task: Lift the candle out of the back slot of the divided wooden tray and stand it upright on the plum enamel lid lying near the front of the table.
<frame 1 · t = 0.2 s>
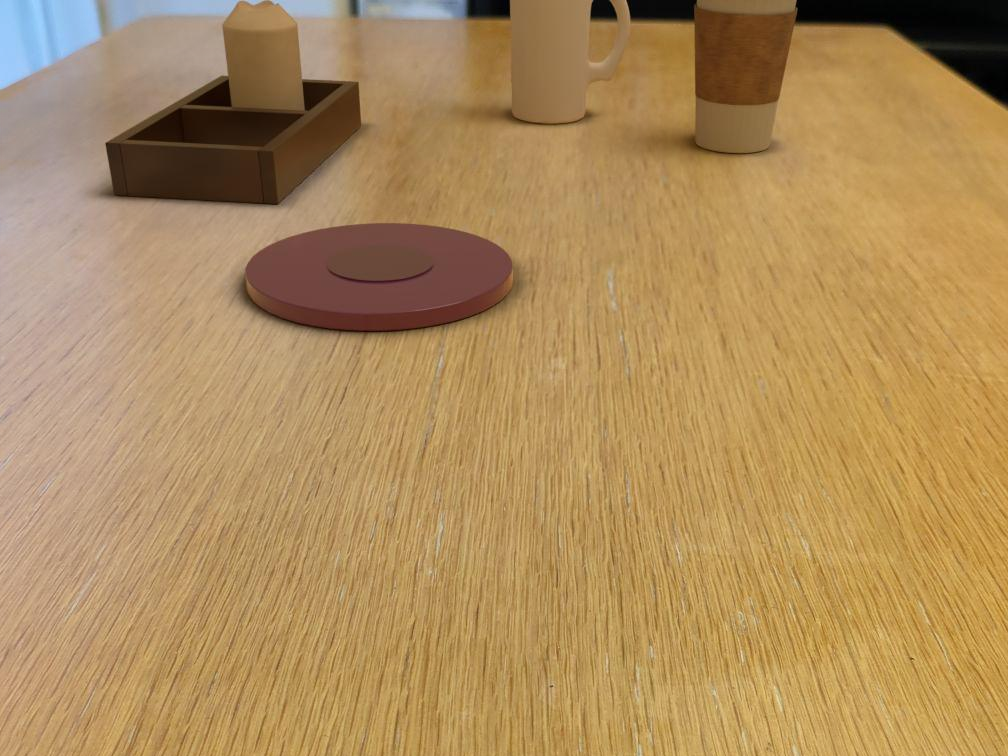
mug: (567, 117, 104), on the table
candle: (271, 142, 95), resting in divided wooden tray
divided wooden tray: (249, 157, 91), on the table
coffee cup: (732, 146, 96), on the table
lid: (381, 280, 69), on the table
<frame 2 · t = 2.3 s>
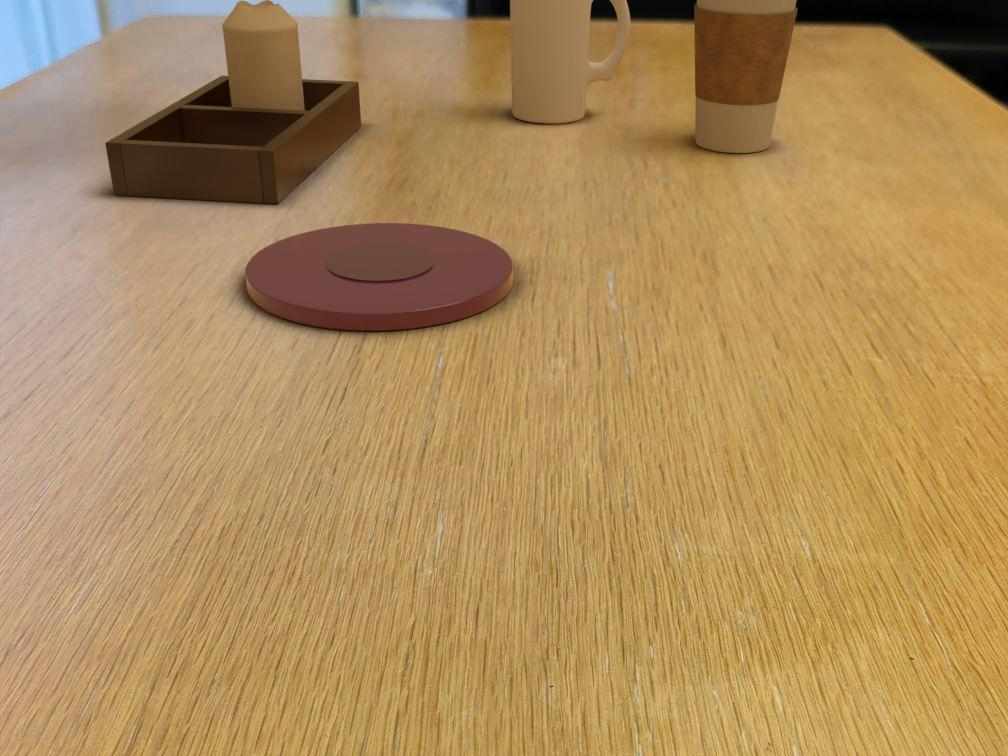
nothing on the table moved.
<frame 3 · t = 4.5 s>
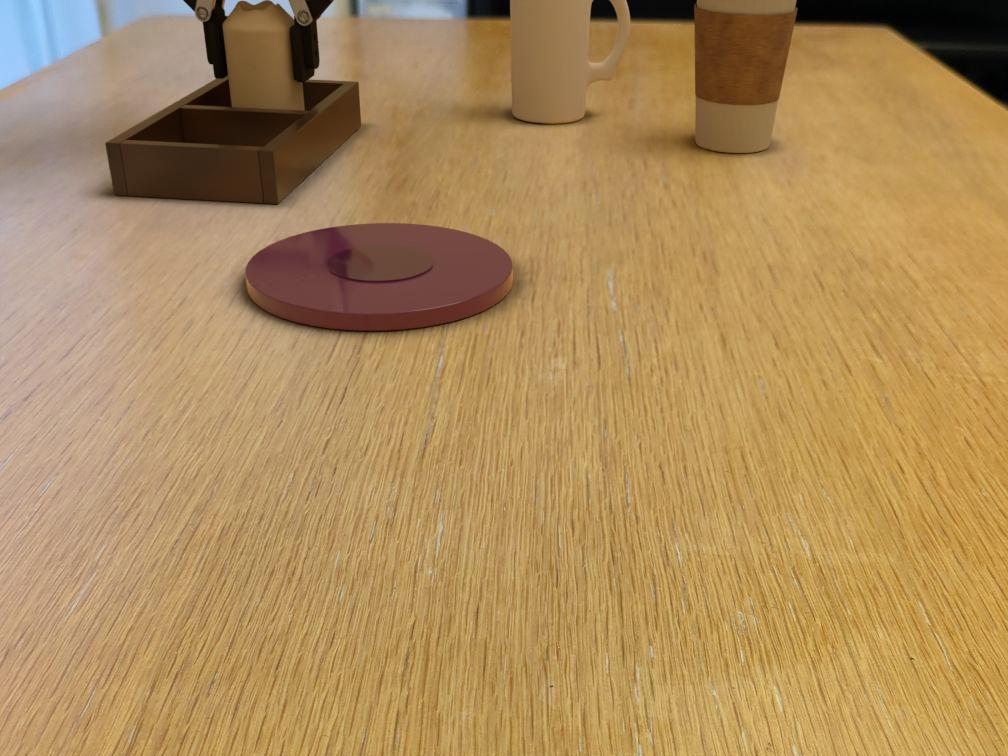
hand: (265, 74, 92), 5 cm above the table, tool pointing down, fingers closed on candle, 5 cm apart
candle: (271, 142, 95), resting in divided wooden tray, touching gripper
everything else where it was.
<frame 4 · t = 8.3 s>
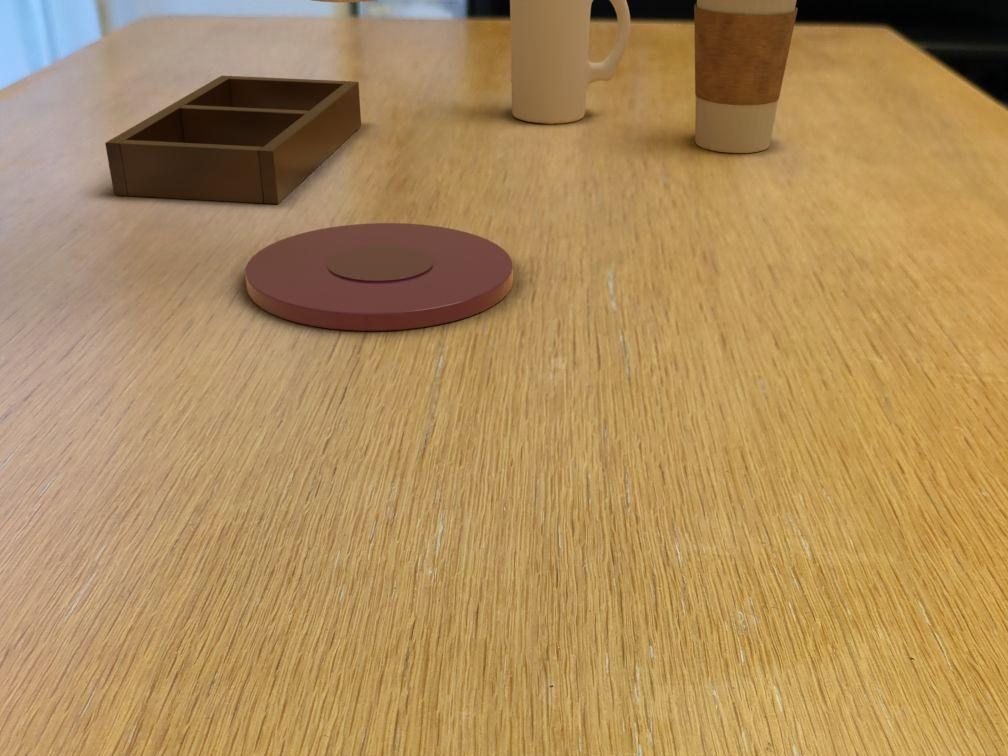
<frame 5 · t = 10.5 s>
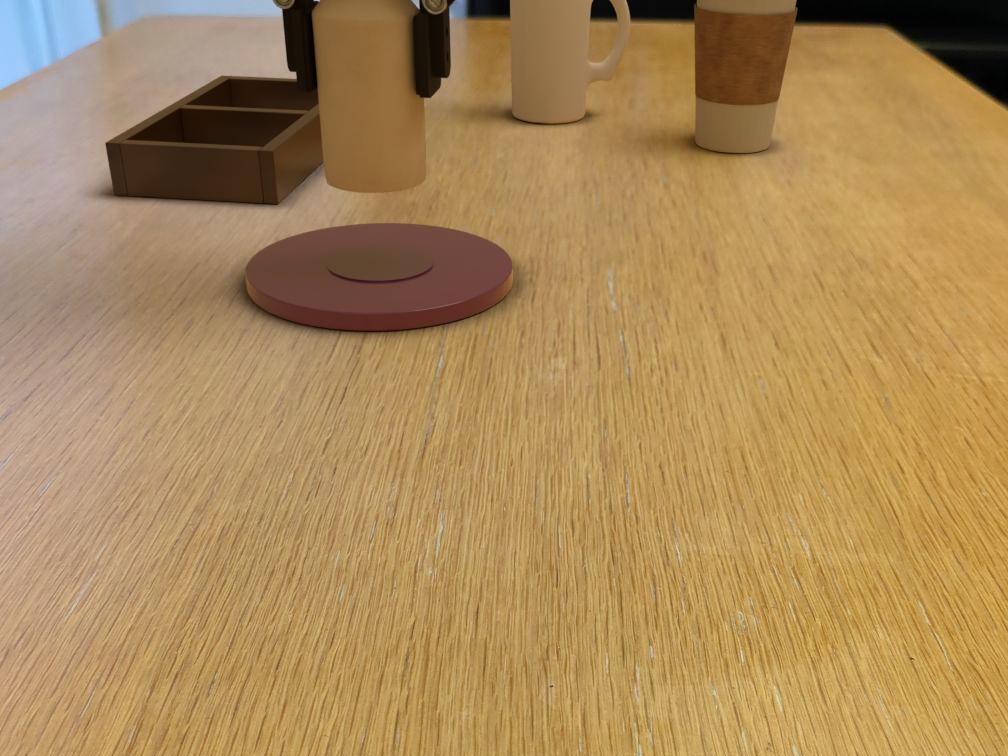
hand: (370, 86, 63), 11 cm above the table, tool pointing down, fingers closed on candle, 5 cm apart
candle: (376, 183, 66), point 6 cm above the table, touching gripper
everything else where it was.
when the fingers open (6 cm above the table, at t = 12.1 s): candle stays where it is, resting on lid.
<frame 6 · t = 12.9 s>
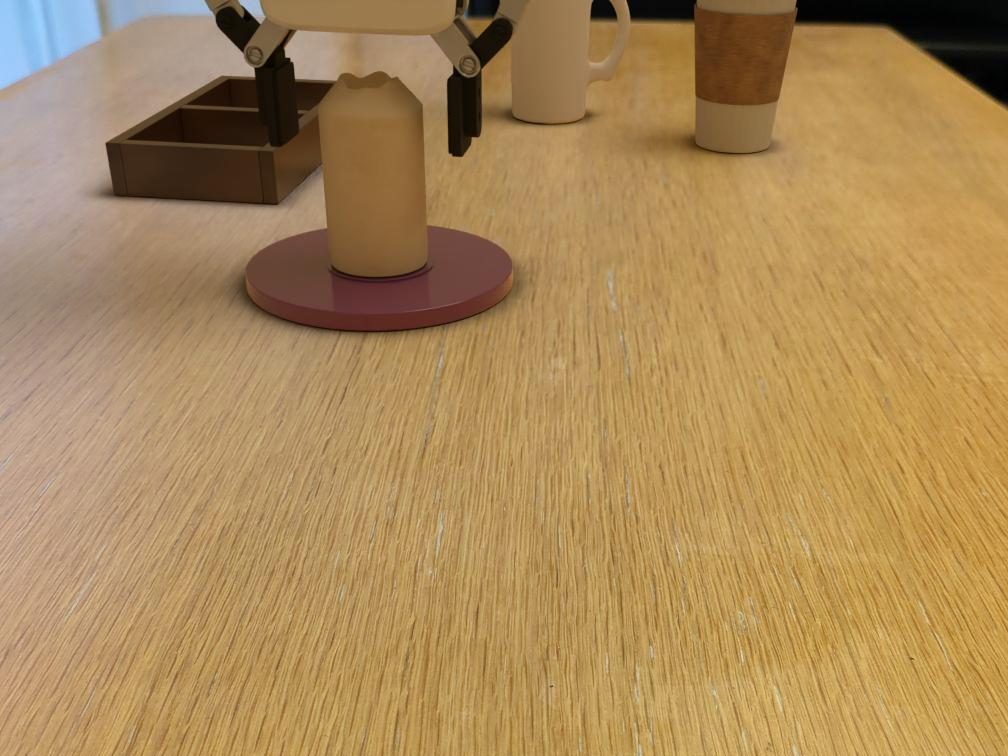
hand: (372, 145, 65), 8 cm above the table, tool pointing down, fingers open, 9 cm apart
candle: (379, 264, 68), point 1 cm above the table, touching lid
everything else where it was.
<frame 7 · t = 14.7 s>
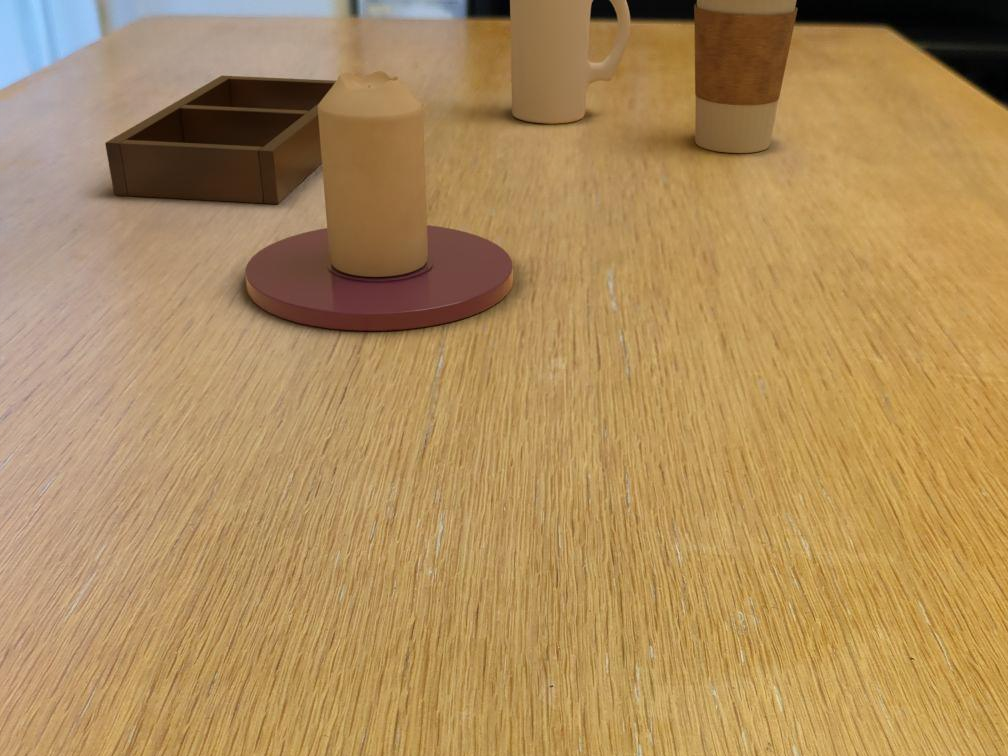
nothing on the table moved.
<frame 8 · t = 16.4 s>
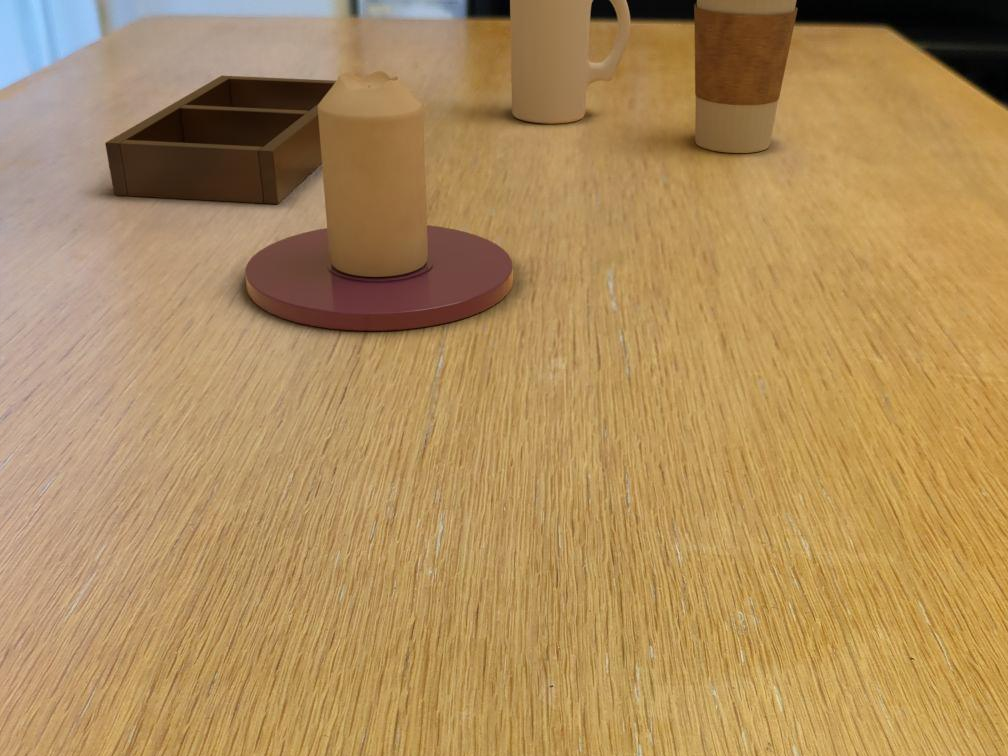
nothing on the table moved.
at the end: candle inside the target area on the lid (0.1 cm from its centre), point 0.9 cm above the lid's base; candle tilted 0°; the gripper is holding nothing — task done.
